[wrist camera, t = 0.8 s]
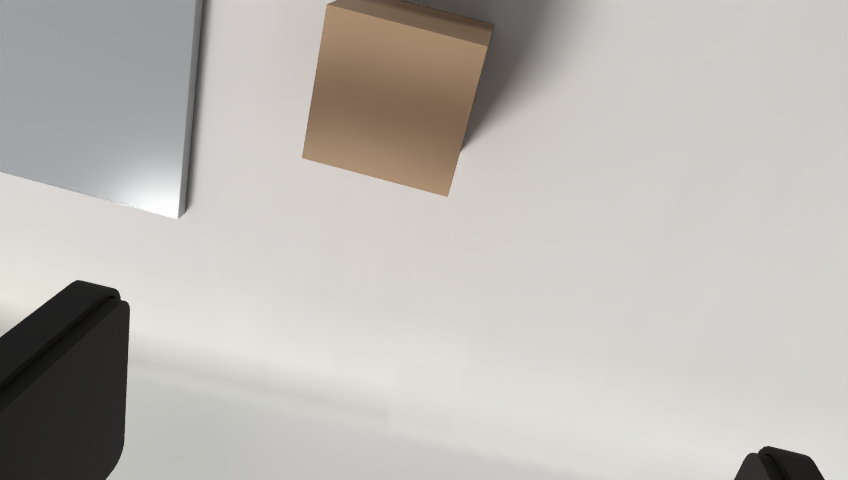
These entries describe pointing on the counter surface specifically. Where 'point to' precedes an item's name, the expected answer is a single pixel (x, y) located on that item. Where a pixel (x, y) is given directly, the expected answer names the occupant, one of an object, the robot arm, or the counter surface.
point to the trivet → (101, 97)
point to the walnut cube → (395, 91)
